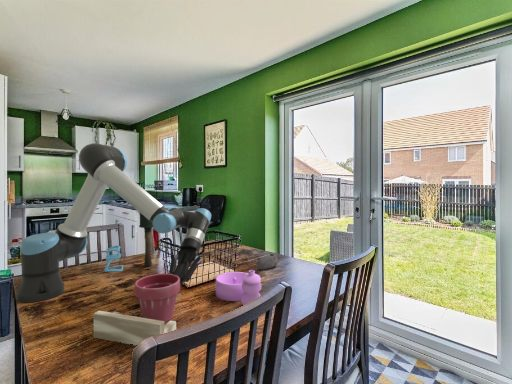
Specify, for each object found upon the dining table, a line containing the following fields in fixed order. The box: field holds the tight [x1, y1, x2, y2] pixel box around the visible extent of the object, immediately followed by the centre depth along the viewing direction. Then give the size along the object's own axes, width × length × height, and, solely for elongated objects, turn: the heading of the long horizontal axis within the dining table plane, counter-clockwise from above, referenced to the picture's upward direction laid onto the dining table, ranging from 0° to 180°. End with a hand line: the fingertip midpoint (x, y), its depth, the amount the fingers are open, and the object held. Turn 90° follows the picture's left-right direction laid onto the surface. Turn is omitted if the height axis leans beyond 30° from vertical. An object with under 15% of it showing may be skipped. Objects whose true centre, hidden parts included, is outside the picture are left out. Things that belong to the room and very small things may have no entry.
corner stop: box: [92, 310, 177, 347], centre depth 82 cm, size 8×22×7 cm, turn 75°
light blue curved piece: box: [103, 245, 124, 273], centre depth 141 cm, size 8×8×12 cm
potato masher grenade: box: [138, 212, 154, 268], centre depth 148 cm, size 8×9×30 cm
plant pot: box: [134, 273, 181, 324], centre depth 93 cm, size 14×14×13 cm
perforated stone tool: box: [256, 252, 279, 271], centre depth 147 cm, size 15×5×7 cm, turn 132°
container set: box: [215, 269, 262, 305], centre depth 110 cm, size 25×15×13 cm, turn 31°
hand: (170, 299), depth 99 cm, fingers closed
